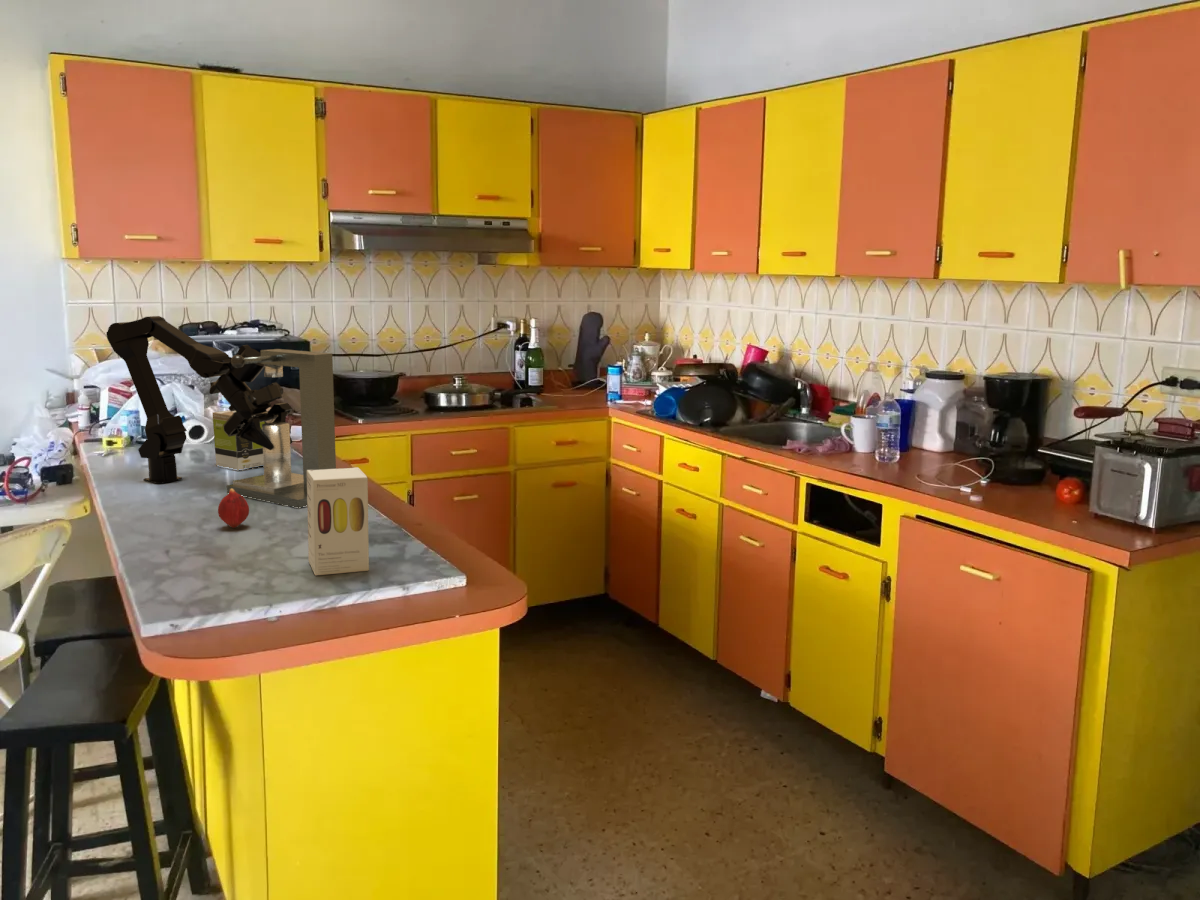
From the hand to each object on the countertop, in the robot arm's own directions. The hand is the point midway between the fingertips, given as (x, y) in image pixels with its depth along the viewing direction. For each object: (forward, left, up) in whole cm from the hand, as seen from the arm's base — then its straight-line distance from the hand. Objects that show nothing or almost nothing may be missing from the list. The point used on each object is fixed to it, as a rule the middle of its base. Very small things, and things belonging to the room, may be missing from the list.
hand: (281, 446), depth 225 cm
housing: (-1, 0, -8) cm, 8 cm away
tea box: (-32, +17, -11) cm, 38 cm away
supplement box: (+53, -32, -11) cm, 63 cm away
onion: (+17, -26, -11) cm, 33 cm away
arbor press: (+3, -3, -11) cm, 12 cm away
